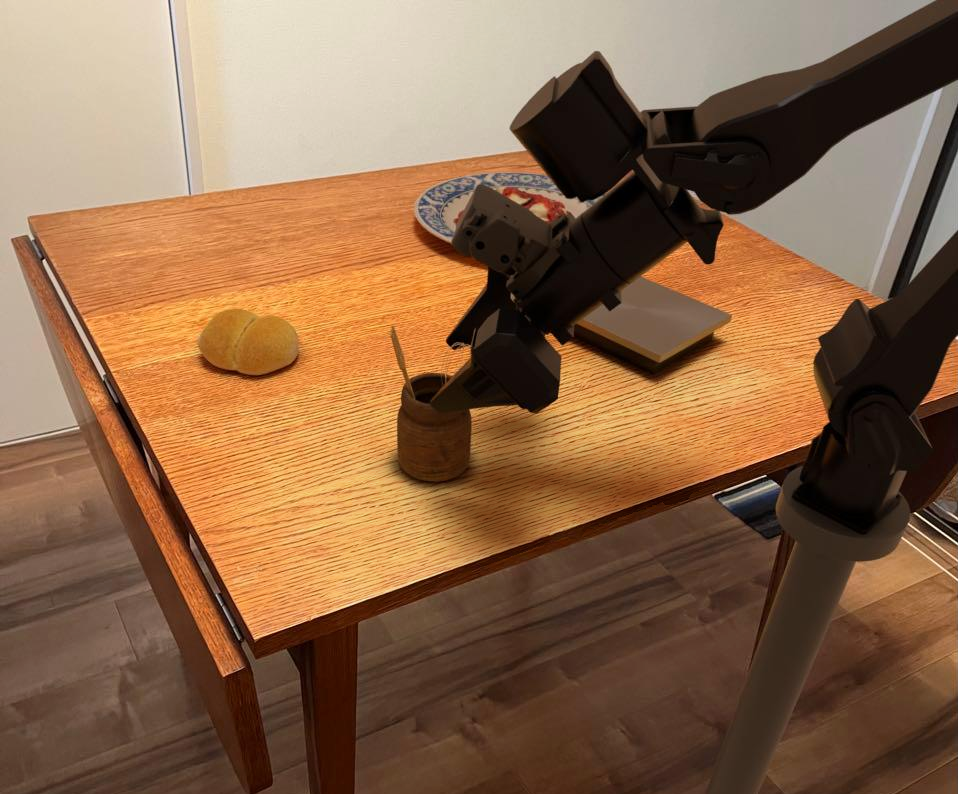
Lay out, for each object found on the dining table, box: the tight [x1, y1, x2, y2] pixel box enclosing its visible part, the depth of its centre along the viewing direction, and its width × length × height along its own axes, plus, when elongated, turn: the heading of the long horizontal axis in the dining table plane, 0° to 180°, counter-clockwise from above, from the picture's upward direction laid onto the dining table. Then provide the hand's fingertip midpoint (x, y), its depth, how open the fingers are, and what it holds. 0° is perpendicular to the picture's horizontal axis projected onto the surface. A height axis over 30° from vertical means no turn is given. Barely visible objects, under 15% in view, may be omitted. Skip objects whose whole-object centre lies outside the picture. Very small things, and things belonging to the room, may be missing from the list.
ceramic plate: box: [413, 171, 606, 245], centre depth 111 cm, size 26×26×3 cm
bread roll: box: [197, 307, 300, 376], centre depth 86 cm, size 8×9×4 cm
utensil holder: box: [389, 324, 473, 483], centre depth 71 cm, size 6×6×12 cm
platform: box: [574, 276, 733, 376], centre depth 92 cm, size 14×12×3 cm
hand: (442, 374), depth 70 cm, fingers open, 9 cm apart
